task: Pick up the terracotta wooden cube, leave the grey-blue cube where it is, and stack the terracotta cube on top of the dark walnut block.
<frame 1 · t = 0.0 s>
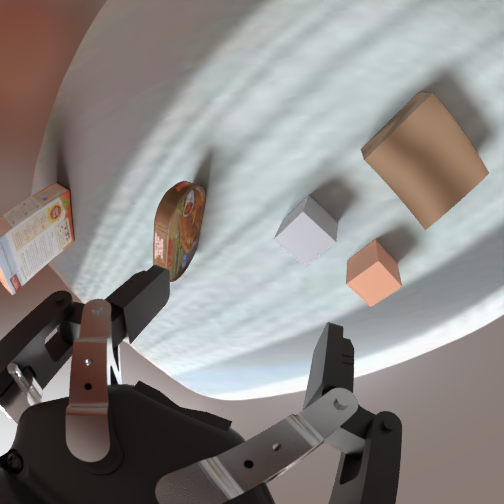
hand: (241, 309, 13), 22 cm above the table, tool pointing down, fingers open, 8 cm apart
grey-blue cube: (310, 220, 34), on the table
terracotta cube: (372, 261, 34), on the table
walnut block: (419, 153, 24), on the table
cracker box: (65, 212, 49), on the table
tin: (192, 219, 39), on the table
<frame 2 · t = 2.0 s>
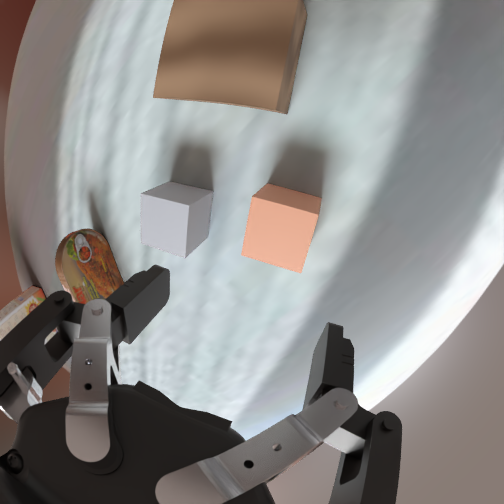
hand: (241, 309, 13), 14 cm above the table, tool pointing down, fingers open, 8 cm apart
grey-blue cube: (188, 208, 27), on the table
terracotta cube: (288, 215, 25), on the table
walnut block: (241, 54, 19), on the table
cracker box: (49, 310, 50), on the table
tin: (112, 268, 35), on the table
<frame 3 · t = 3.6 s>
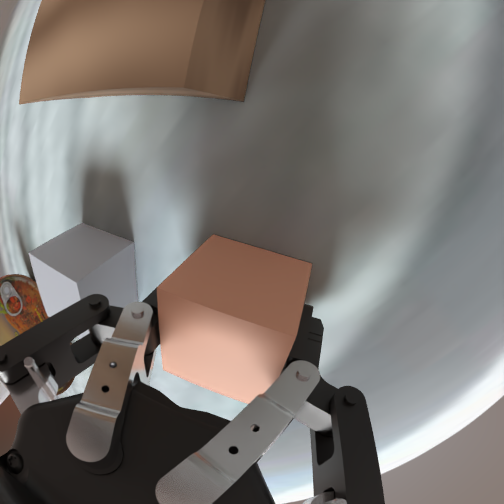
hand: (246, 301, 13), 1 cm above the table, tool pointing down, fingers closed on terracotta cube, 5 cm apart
grey-blue cube: (109, 263, 17), on the table
terracotta cube: (252, 290, 14), on the table, touching gripper
walnut block: (167, 9, 9), on the table
tin: (54, 317, 25), on the table
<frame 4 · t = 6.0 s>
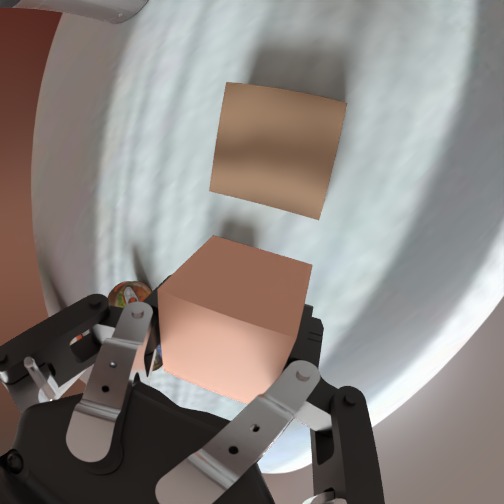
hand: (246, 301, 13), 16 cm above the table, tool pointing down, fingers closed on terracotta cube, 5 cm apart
terracotta cube: (252, 291, 14), point 15 cm above the table, touching gripper
walnut block: (284, 145, 25), on the table
tin: (154, 312, 41), on the table
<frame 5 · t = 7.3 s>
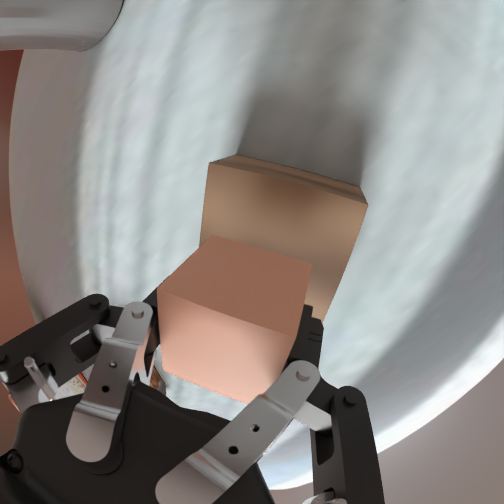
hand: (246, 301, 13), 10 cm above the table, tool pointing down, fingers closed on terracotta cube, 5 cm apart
terracotta cube: (252, 290, 14), point 9 cm above the table, touching gripper
walnut block: (283, 227, 22), on the table
cracker box: (74, 367, 53), on the table
when the fingers open (7 cm above the table, at t = 8.3 s): terracotta cube drops 1 cm, resting on walnut block.
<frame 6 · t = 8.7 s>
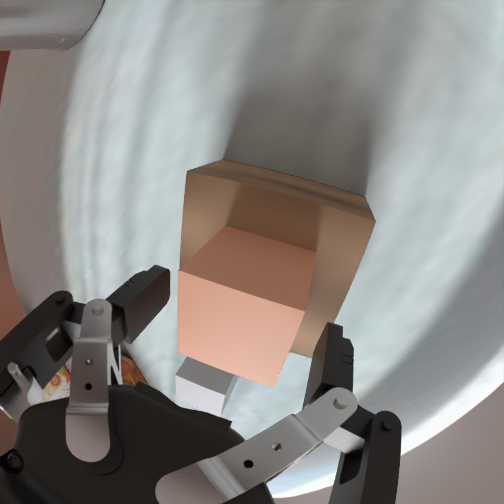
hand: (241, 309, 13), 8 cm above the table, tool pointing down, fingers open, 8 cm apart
grey-blue cube: (217, 363, 28), on the table
terracotta cube: (260, 278, 15), point 5 cm above the table, touching walnut block
walnut block: (276, 242, 20), on the table
cracker box: (68, 375, 51), on the table
tin: (139, 376, 36), on the table
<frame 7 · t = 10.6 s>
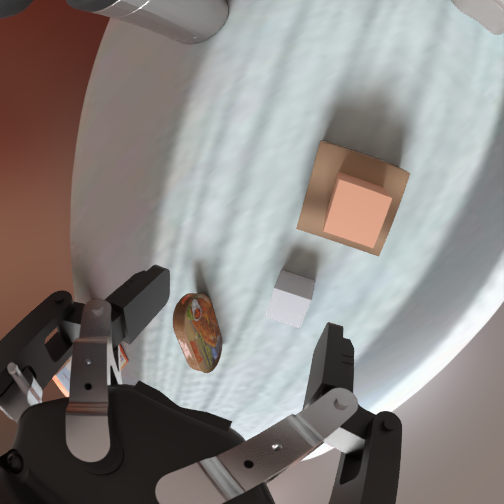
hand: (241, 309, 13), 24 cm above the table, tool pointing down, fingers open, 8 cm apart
grey-blue cube: (293, 289, 39), on the table
terracotta cube: (354, 201, 27), point 5 cm above the table, touching walnut block
walnut block: (350, 191, 31), on the table
cracker box: (113, 339, 62), on the table
tin: (209, 319, 47), on the table
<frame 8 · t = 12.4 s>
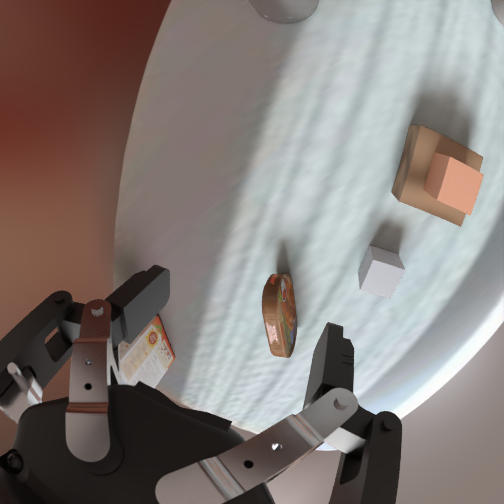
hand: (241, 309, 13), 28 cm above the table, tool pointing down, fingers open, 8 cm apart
grey-blue cube: (378, 263, 39), on the table
terracotta cube: (445, 178, 26), point 5 cm above the table, touching walnut block
walnut block: (431, 171, 30), on the table
cracker box: (158, 335, 61), on the table
tin: (286, 302, 46), on the table
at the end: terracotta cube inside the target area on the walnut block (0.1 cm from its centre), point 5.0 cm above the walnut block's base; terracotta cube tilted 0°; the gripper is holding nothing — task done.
